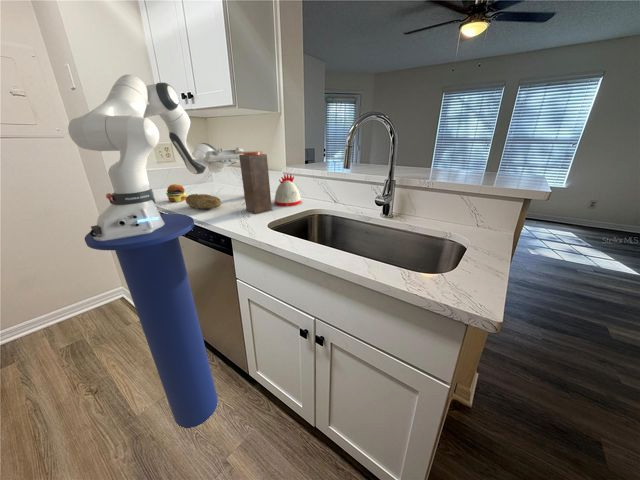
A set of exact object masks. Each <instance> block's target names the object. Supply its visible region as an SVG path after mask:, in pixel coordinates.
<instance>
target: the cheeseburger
mask: <svg viewBox="0 0 640 480" xmlns="http://www.w3.org/2000/svg"><path fill="white" fill-rule="evenodd" d="M185 190H186V189H185V188H184V186H183V185H181V184H170V185H169V186H168V187H167V189H166V193H165V194H166V197H167V199H168V201H169V202H175V203H180V202H182V201H186V197H187V196H188V194H187V192H186V191H185Z"/></svg>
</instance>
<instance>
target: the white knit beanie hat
mask: <svg viewBox="0 0 640 480" xmlns="http://www.w3.org/2000/svg"><path fill="white" fill-rule="evenodd" d="M280 178H281V179H278V182H279V185H278V186H277V188H276V190H275V195H274V204H275V205H276V206H278V207H293V206H297V205H300V204H301V203H302V198H301V194H300V192H299V190H298V189H299V188H298V187H297V186H296V184H295V183H293V182H294V179H295V176H292V174H291V173H290V174H288V173H286V174H284V175H283V176H281V177H280Z"/></svg>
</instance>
